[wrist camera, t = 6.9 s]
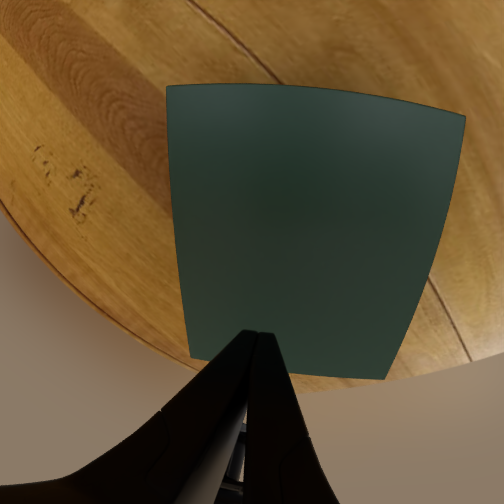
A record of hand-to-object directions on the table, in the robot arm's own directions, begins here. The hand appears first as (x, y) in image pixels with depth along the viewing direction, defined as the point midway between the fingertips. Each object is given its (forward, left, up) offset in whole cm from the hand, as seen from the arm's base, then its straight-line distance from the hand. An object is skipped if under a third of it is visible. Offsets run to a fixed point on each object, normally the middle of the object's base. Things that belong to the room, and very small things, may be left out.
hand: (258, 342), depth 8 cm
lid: (0, -1, -6) cm, 6 cm away
